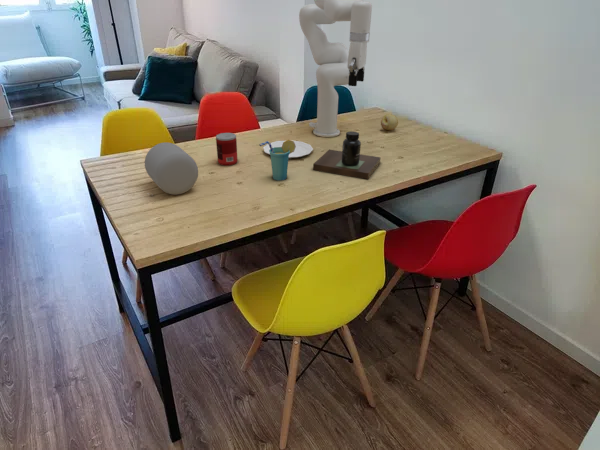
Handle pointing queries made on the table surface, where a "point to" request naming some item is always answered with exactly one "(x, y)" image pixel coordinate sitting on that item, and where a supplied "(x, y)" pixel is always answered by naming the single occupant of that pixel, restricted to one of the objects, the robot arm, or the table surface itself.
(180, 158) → the grey rounded cylinder
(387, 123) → the fruit
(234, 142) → the canned food
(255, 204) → the table surface
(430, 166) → the table surface
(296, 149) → the plate
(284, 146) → the cup
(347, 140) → the supplement bottle
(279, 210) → the table surface
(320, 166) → the walnut board
